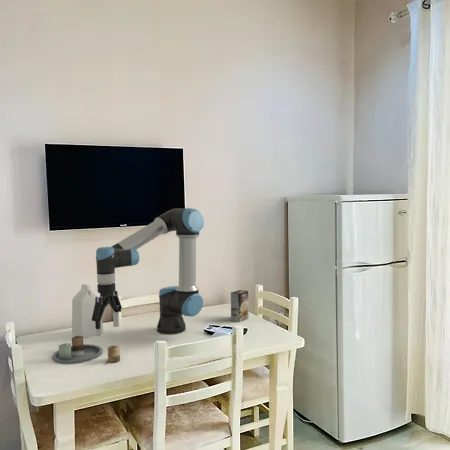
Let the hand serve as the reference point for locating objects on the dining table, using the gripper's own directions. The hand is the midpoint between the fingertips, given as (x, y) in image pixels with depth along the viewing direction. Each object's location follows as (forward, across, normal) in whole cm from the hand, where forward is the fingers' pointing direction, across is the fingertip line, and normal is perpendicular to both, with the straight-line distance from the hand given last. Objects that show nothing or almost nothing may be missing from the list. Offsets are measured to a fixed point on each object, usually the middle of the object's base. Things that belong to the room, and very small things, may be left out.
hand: (108, 331), depth 186 cm
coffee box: (+13, -72, +41) cm, 84 cm away
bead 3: (+13, +1, +3) cm, 13 cm away
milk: (+13, -30, -31) cm, 45 cm away
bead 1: (+12, +5, -19) cm, 23 cm away
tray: (+13, -1, -16) cm, 21 cm away
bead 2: (+12, -6, -20) cm, 24 cm away
